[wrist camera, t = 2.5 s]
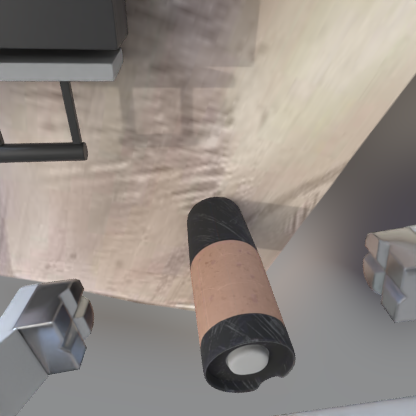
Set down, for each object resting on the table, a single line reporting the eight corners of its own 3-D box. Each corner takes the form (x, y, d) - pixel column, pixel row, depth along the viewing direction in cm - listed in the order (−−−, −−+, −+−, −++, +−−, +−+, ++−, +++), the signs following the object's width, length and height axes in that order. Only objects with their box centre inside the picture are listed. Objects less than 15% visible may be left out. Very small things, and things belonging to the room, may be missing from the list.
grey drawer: (130, 131, 33) (124, 163, 27) (-10, 133, 31) (-49, 168, 26) (102, -133, 22) (82, -176, 16) (-113, -150, 21) (-222, -205, 15)
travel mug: (190, 191, 39) (213, 339, 23) (250, 198, 41) (312, 340, 24) (180, 240, 43) (194, 395, 27) (235, 244, 45) (279, 392, 28)
